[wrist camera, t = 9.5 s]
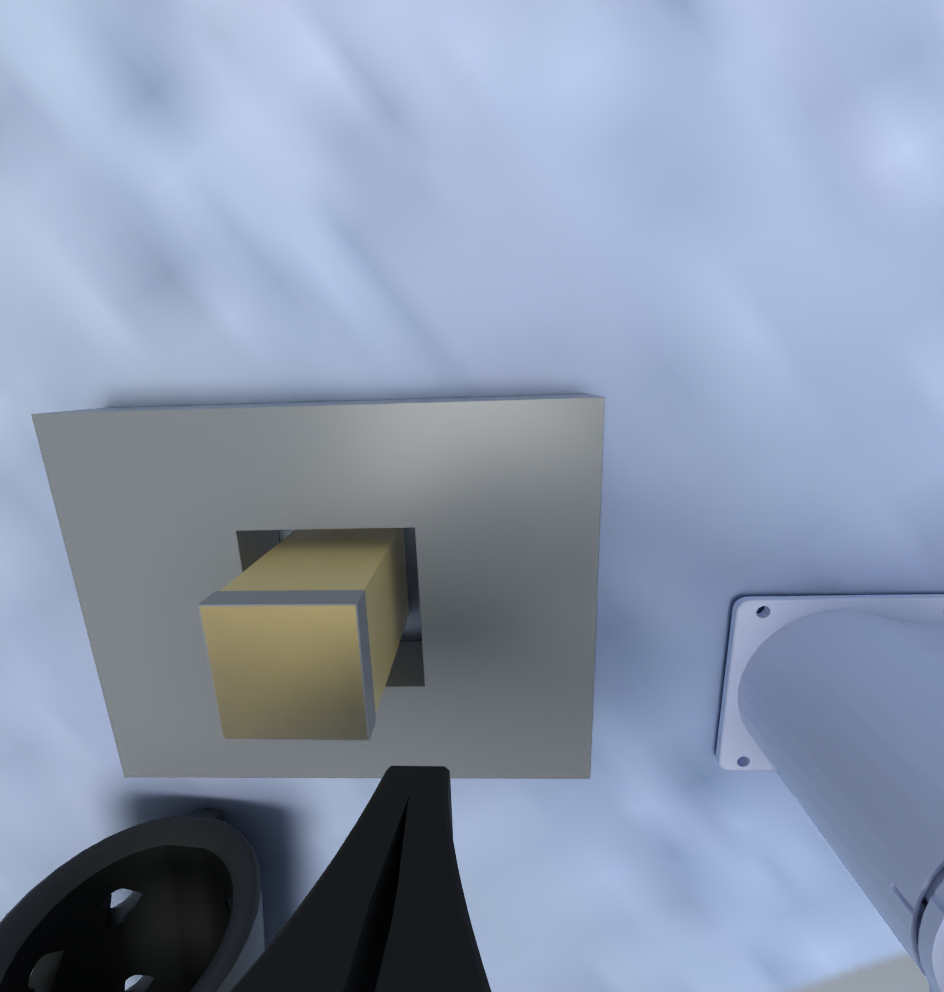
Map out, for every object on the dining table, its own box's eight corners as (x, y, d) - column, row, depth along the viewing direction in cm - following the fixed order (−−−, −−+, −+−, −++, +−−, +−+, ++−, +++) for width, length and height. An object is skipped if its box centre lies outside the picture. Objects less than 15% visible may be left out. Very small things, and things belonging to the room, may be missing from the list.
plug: (404, 520, 19) (356, 603, 12) (410, 615, 20) (369, 741, 13) (302, 522, 19) (197, 605, 12) (313, 615, 20) (222, 740, 13)
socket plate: (585, 393, 17) (604, 397, 14) (576, 722, 21) (590, 778, 18) (105, 407, 18) (31, 414, 15) (174, 722, 21) (124, 777, 18)
